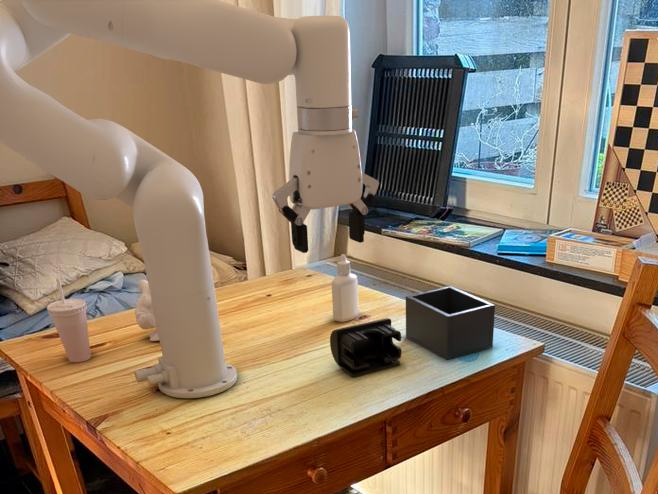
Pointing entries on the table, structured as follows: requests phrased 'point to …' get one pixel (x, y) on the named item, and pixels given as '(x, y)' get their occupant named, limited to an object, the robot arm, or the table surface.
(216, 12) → the robot arm
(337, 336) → the end cap
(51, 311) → the smoothie
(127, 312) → the table surface
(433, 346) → the box
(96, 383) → the table surface
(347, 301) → the eye dropper bottle
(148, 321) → the koala figurine
